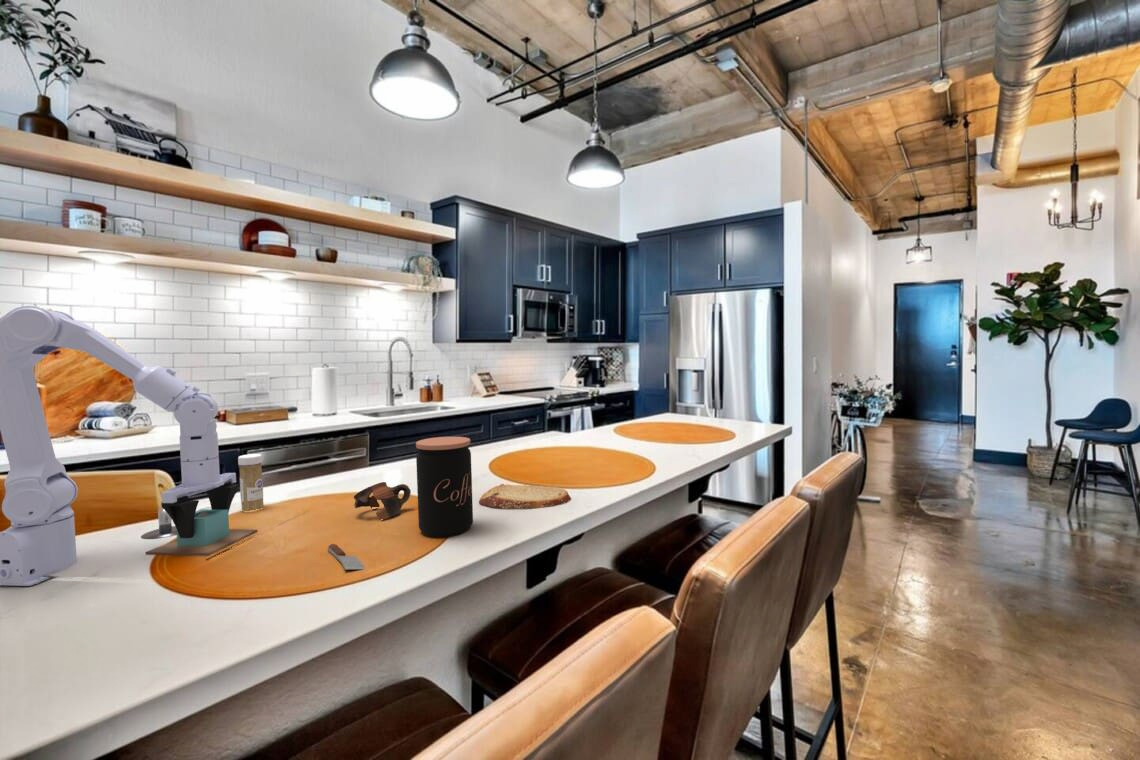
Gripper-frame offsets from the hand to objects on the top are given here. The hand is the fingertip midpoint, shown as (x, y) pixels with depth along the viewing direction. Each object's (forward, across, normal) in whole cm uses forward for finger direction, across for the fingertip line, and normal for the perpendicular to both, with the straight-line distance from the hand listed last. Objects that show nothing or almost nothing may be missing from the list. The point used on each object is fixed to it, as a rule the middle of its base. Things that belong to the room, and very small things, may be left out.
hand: (204, 530), depth 94 cm
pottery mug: (+3, +20, -25) cm, 33 cm away
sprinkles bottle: (+3, +20, +6) cm, 21 cm away
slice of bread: (+4, +31, -55) cm, 63 cm away
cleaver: (+4, -4, -31) cm, 31 cm away
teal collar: (+2, 0, 0) cm, 2 cm away
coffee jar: (+3, +11, -43) cm, 45 cm away
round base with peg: (+3, +5, +13) cm, 14 cm away
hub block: (+3, 0, 0) cm, 3 cm away
